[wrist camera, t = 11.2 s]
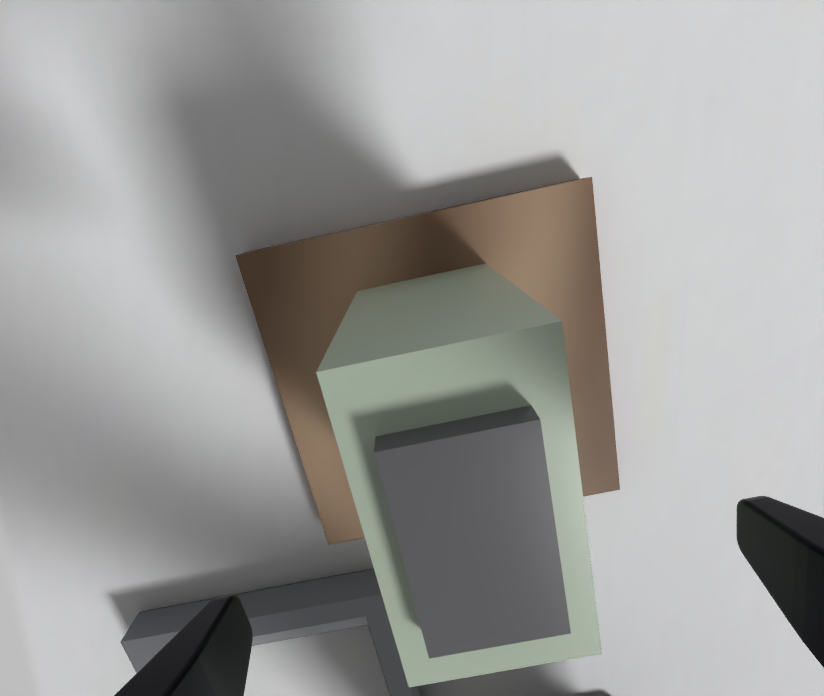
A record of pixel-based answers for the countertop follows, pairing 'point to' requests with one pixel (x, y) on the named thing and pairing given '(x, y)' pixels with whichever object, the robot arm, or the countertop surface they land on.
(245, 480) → the countertop surface
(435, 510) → the module
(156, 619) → the grey flat frame
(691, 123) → the countertop surface
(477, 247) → the pad
